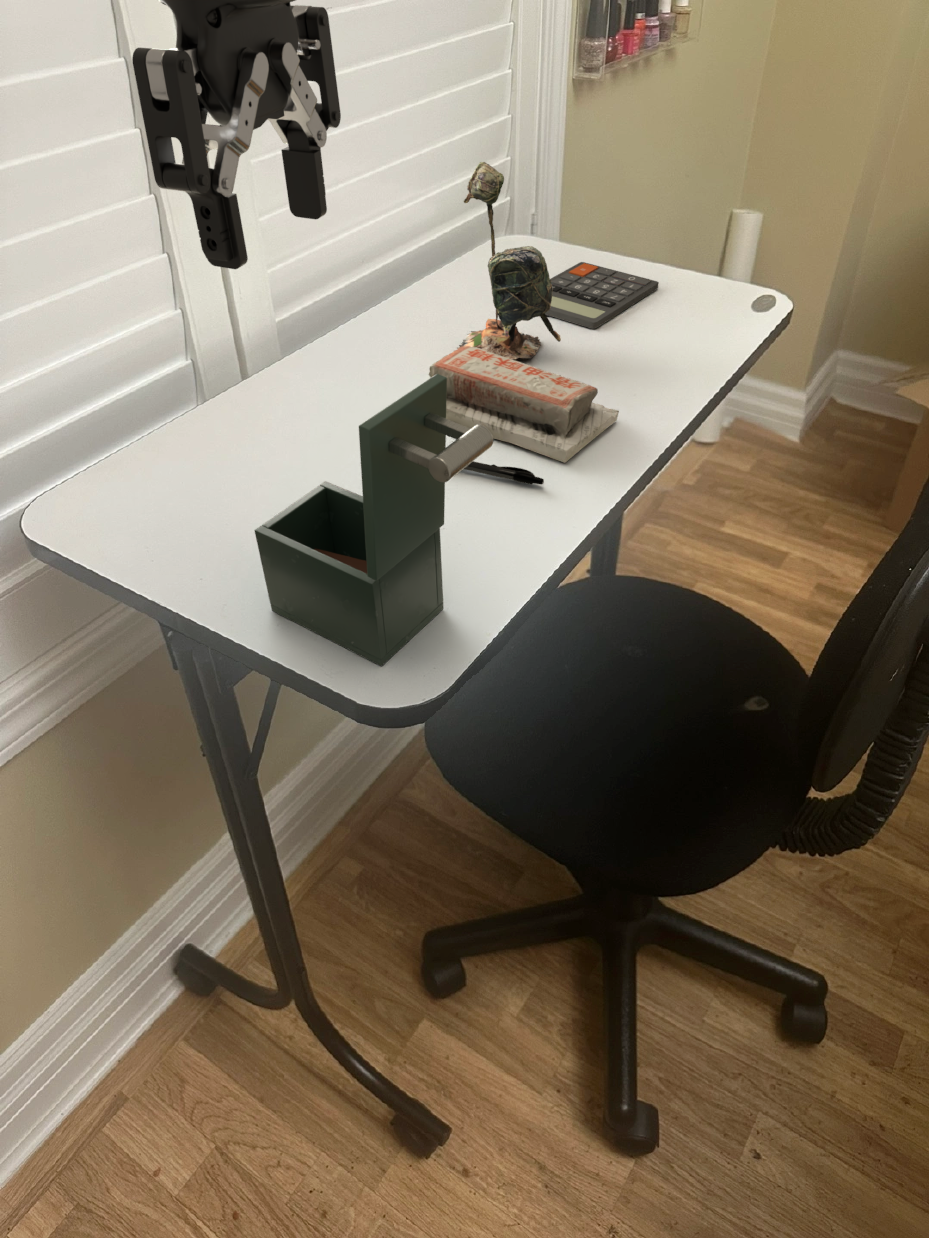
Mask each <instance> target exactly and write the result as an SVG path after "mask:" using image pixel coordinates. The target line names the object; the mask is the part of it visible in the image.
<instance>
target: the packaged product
mask: <svg viewBox="0 0 929 1238" xmlns="http://www.w3.org/2000/svg"><path fill="white" fill-rule="evenodd" d="M457 348H458V349H457ZM457 348H456V349H455V350H453V351H452V352H450V353H449V354H446V355H445V356H443V357H441V358H440V359H439V360H437V361H436V362H434V363H432V364H431V365H430V366H429V372H428V376H429V379H430V378H431V377H433V376H434V375H436V374H439V375H442V376H445V377H447V399H446V419H448V420H450V421H453V422H455V423H458V424H460V425H463V426H465V427H468V428H470V429H471V428H473V427H474V426H475V425H483V426H485V427H486V428H488V429H489V431H490V432H491V434H492V436H493V440H499V441H502V442H506V443H510V444H512V445H515V446H518V447H520V448H523V449H525V450H529V451H531V452H535V453H536V454H540V455H542V456H545V457H548V458H550V459H553V460H556V461H558V462H561V463H564V464H566V463H567V462H568V461H569V460H570V459H571V458H572V457H574V456H575V455H576V454H577V453H579V452H580V451H581V450H582V449H584V447H586V446H587V445H588V444H590V443H591V442H592V441H593V440H594V439H595V438H597V437H598V436H599V435H601V434H602V433H603V432H604V431H605V430H607V429H608V428H609V427H611V425H614V424H615V423H616V422H617V421H618V417H619V413H620V410H619V409H614V408H608V407H605V406H604V405H603V404H599V403H595V402H593V401H594V400H595V398H596V396H597V395H598V392H599V391H598V388H597V387H595V386H592V385H590V384H587V383H584V382H581V381H579V380H577V379H573V378H569V377H566V376H562V375H561V374H557V373H555V372H551V371H547V370H544V369H542V368H539V367H536V366H533V365H531V364H527V363H523V362H522V361H518V360H516V359H509V358H507V357H503V356H500V355H497V354H494V353H492V352H487V351H485V350H482V349H480V348H477V347H470V346H466V347H465V346H462V347H460V346H458V347H457Z"/></svg>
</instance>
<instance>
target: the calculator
mask: <svg viewBox="0 0 929 1238" xmlns="http://www.w3.org/2000/svg"><path fill="white" fill-rule="evenodd" d="M550 280H551V284H552V289H553V293H552V301H551V306H550V309H549V311H547V312H546V313H545V315H546V316H547V317H548V316H549V317H552V318H556V319H558V320H562V321H565V322H568V323H571V324H575V325H579V326H582V327H585V328H589V329H592V330H595V329H598V328H599V327H600V326H602V325H603V324H605V323H606V322H608V321H609V320H611V319H613V318H614V317H616V316H617V315H619V314H621V313H622V312H624V311H625V310H627V309H628V308H630V307H632V306H633V305H635V304H637V303H638V302H640V301H641V300H643V299H644V298H646V297H647V296H649V295H650V294H652V293H654V292H656V291H657V290H658V289H659V283H660V282H659V281H658V280H654V279H650V278H645V277H641V276H638V275H634V274H630V273H628V272H627V273H626V272H623V271H619V270H615V269H612V268H609V267H604V266H600V265H596V264H592V263H588V262H584V261H580V262H578V263H577V264H574V265H573V266H571V267H569V268H567V269H565V270H563V271H561V272H560V273H558V274H556V275H555V276H553V277H550Z"/></svg>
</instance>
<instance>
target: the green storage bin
mask: <svg viewBox="0 0 929 1238" xmlns="http://www.w3.org/2000/svg"><path fill="white" fill-rule="evenodd" d="M254 535H255V540H256V545H257V549H258V554H259V558H260V562H261V566H262V567H261V568H262V572H263V577H264V581H265V586H266V590H267V595H268V601H269V603H270V608H271V611H272V612H274V613H276V614H277V615H280V616H282V617H283V618H285V619H287V620H288V621H289V620H290V621H292V622H293V623H295V624H297V625H299V626H301V627H303V628H305V629H307V630H308V631H311V632H312V633H315V634H317V635H318V636H321V637H323V638H325V639H327V640H329V641H331V642H332V643H334V644H336V645H338V646H340V647H342V648H345V649H346V650H348V651H350V652H352V653H354V654H356V655H358V656H359V657H362V658H364V659H365V660H368V661H370V662H372V663H374V664H376V665H378V666H380V667H383V666H384V665H385V664H386V663H387V662H388V661H390V659H391V658H393V656H394V655H396V654H397V653H398V652H399V651H400V650H401V649H402V648H403V647H404V646H405V645H407V644H408V643H409V642H410V641H411V640H412V639H413V638H415V636H416V635H417V634H418V633H419V632H420V631H421V630H423V629H424V628H425V626H427V625H428V624H429V623H430V622H431V621H432V620H433V619H435V617H436V616H437V615H439V613H441V612H442V611H443V610H444V592H443V591H444V589H443V588H444V586H443V567H442V566H443V565H442V563H443V562H442V549H441V548H442V543H441V542H442V541H441V527H440V528H439V529H438V530H437V531H436V532H434V533H433V534H432V535H431V536H430V537H428V538H427V539H426V540H425V541H424V542H422V543H421V544H420V545H419V546H418V547H416V548H415V549H414V550H413V551H412V552H410V553H409V554H408V555H407V556H406V557H405V558H403V559H402V560H401V561H400V562H399V563H397V564H396V565H395V566H394V567H393V568H391V569H390V570H389V571H388V572H387V573H385V574H384V575H383V576H382V577H381V578H379V579H378V580H377V581H375V580H373V579H371V578H369V577H368V576H367V574H366V573H364V572H362V571H360V570H357V569H355V568H353V567H351V566H349V565H347V564H344V563H342V562H340V561H338V560H336V559H333V558H331V557H329V556H327V555H325V554H322V553H320V552H318V551H316V550H314V549H315V548H316V549H320V550H324V551H328V552H332V553H336V554H340V555H344V556H348V557H352V558H356V559H360V560H364V561H367V560H366V543H365V526H364V509H363V495H361V494H358V493H356V492H354V491H352V490H348V489H346V488H344V487H341V486H338V485H337V484H334V483H332V482H329V481H327V480H324V481H323V482H321V483H320V484H319V485H317V486H316V487H314V488H313V489H311V490H310V491H309V492H307V493H306V494H305V495H303V496H302V497H300V498H298V499H297V500H296V501H294V502H292V504H290V505H288V506H287V507H285V509H283V510H281V511H280V512H278V513H277V514H276V515H274V516H273V517H271V518H270V519H268V520H267V521H265V522H264V523H263V524H261V525H259V526H258V527H256V528H255V529H254Z"/></svg>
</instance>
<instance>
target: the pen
mask: <svg viewBox="0 0 929 1238" xmlns="http://www.w3.org/2000/svg"><path fill="white" fill-rule="evenodd" d="M463 470H466V471H470V472H474V473H479V474H483V475H488V476H493V477H496V478H501V479H504V480H505V479H506V480H511V481H514V482H516V483H520V484H524V485H534V484H535V485H541V486H542V485H543V484H544V482H545V479H544V478H542V477H540V476H536V475H535V474H534V473H533V472H532V471H531V470H527V469H525V468H522V467H515V466H498V465H496V464H487V463H483V462H479V461H475V460H474V461H473V462H471V463H470V464H469V465H468V466H466V467H465V468H464V469H463Z"/></svg>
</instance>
